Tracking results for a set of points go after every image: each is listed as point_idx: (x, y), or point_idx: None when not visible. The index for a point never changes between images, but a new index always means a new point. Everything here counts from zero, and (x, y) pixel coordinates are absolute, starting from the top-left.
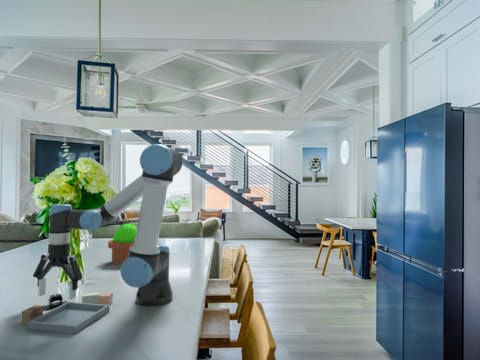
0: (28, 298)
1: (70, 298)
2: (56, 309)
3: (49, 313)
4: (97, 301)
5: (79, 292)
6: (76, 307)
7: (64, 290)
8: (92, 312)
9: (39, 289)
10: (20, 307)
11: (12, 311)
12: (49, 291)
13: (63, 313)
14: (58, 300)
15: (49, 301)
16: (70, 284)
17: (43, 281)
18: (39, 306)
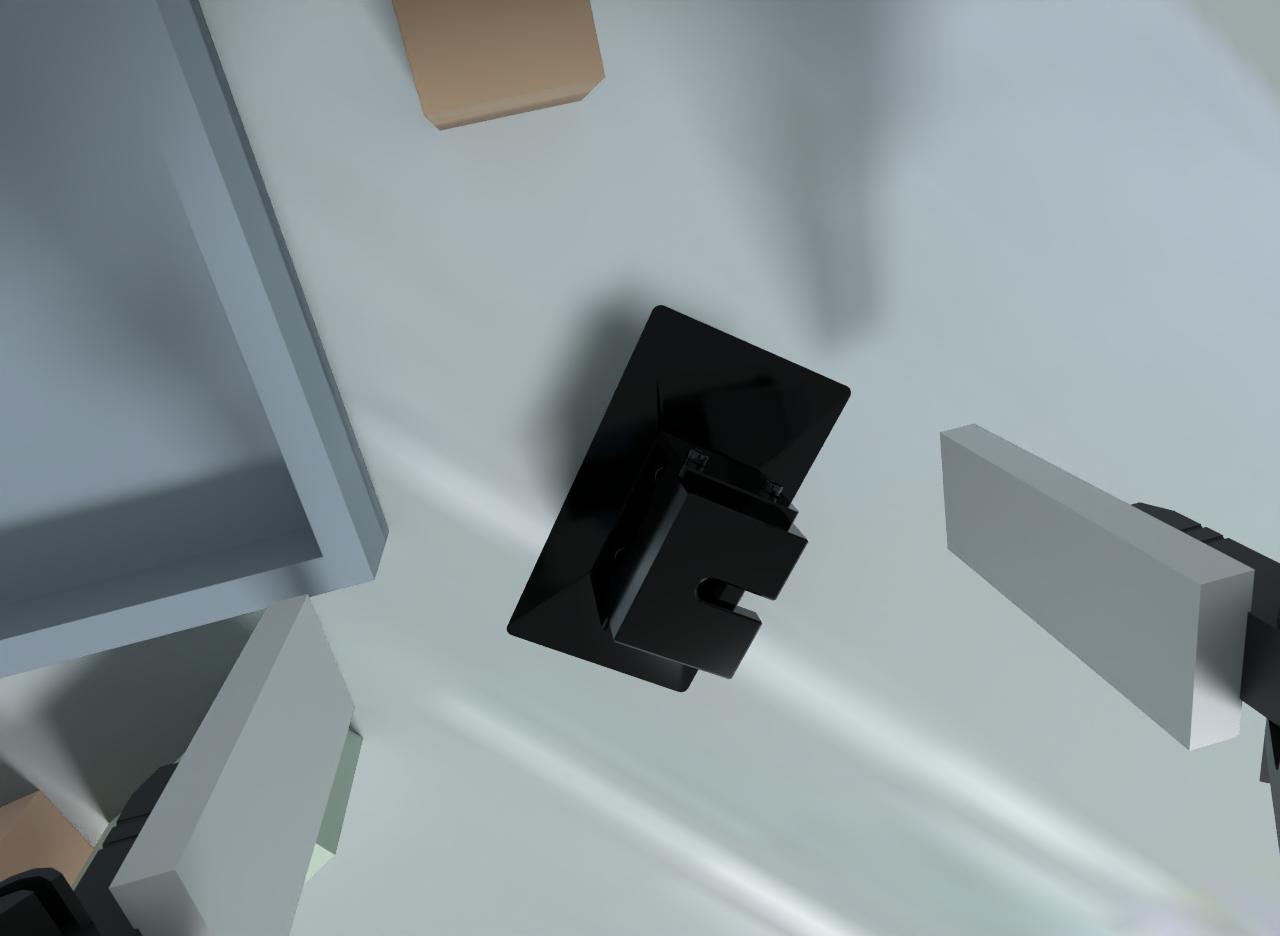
0: (1247, 512)
1: (274, 611)
2: (205, 249)
3: (127, 45)
4: (96, 851)
5: (787, 928)
6: (180, 565)
7: (1024, 876)
8: None
9: (1037, 474)
10: (1094, 241)
11: (1080, 72)
12: (1174, 773)
13: (145, 316)
14: (624, 559)
15: (747, 479)
16: (169, 824)
17: (1132, 633)
18: (442, 37)
